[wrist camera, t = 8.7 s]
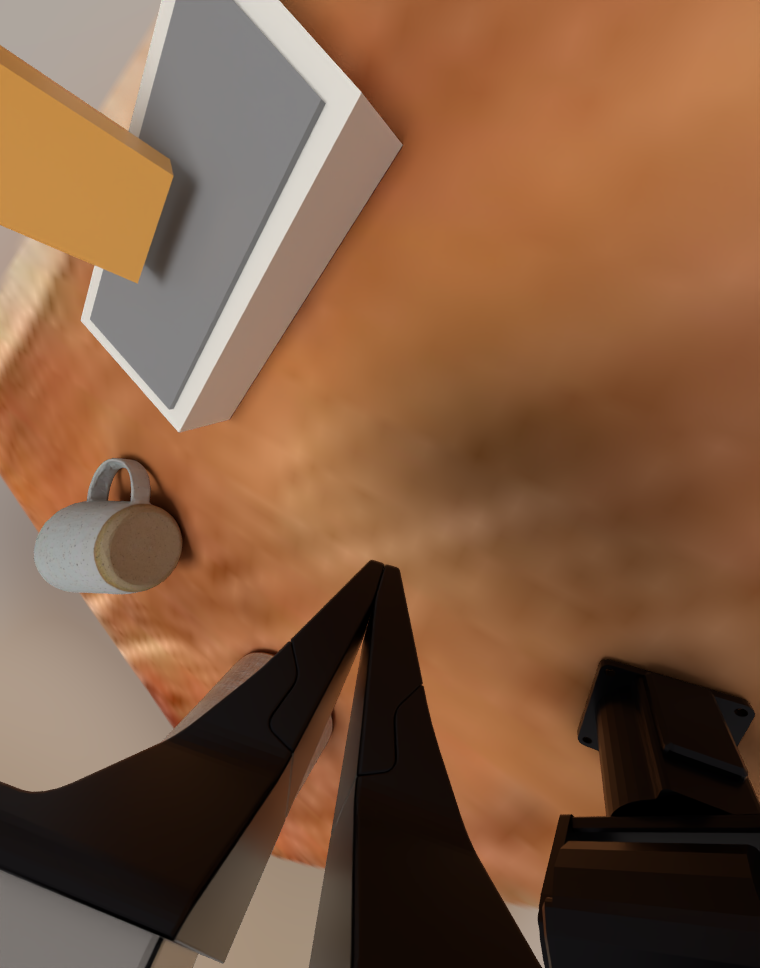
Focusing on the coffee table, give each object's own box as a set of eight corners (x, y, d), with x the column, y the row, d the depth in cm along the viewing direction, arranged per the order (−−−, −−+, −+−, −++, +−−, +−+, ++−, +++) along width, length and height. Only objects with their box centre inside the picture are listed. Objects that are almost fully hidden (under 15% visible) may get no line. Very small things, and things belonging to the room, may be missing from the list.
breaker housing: (402, 144, 16) (357, 87, 12) (229, 419, 25) (174, 433, 22) (265, -8, 16) (179, -111, 12) (143, 322, 25) (75, 320, 22)
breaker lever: (173, 175, 15) (-221, -79, 9) (137, 283, 17) (-184, 146, 11) (169, 159, 15) (-197, -88, 9) (136, 265, 18) (-166, 127, 12)
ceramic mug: (201, 564, 33) (112, 620, 26) (144, 561, 36) (54, 609, 30) (159, 449, 30) (47, 479, 23) (102, 458, 33) (-8, 486, 27)
